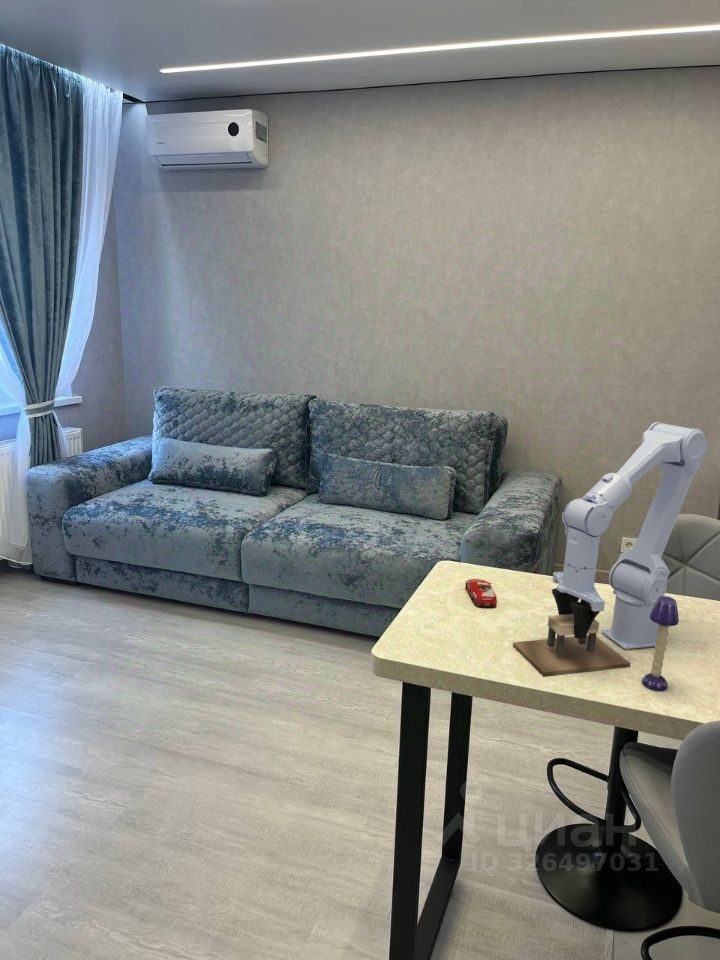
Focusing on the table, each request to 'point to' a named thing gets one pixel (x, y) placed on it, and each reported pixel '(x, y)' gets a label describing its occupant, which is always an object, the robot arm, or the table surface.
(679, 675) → the table surface
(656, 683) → the toy lamp
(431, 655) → the table surface
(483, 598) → the race car
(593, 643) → the oak stool
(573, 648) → the walnut board
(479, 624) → the table surface
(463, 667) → the table surface
